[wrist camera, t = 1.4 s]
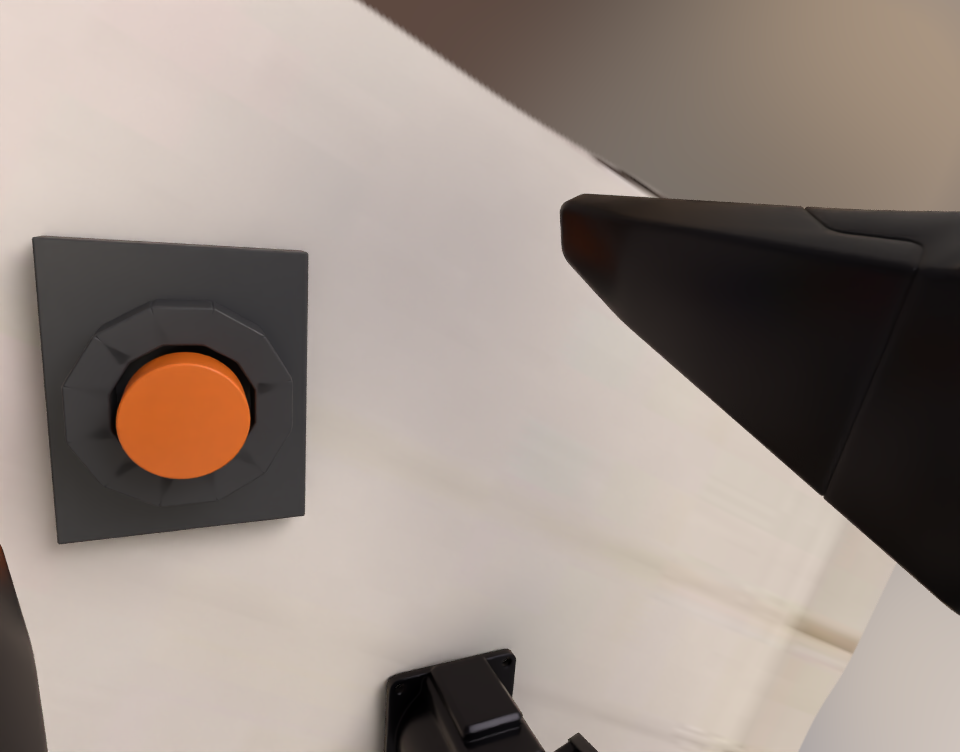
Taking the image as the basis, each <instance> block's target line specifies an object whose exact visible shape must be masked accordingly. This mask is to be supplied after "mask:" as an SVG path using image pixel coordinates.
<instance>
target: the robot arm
mask: <svg viewBox="0 0 960 752" xmlns="http://www.w3.org/2000/svg"><path fill="white" fill-rule="evenodd" d="M560 226H561V245H562V251H563V255H564V257H565V259H566V260H567V262H568V263H569V264H570V265H571V266H572V268H573V269H574V270H575V271H576V272H577V273H578V274H579V275H580V276H581V277H582V278H583V280H584V281H585V282H586V283H587V284H588V285H589V286H590V287H591V288H592V289H593V291H594V292H595V293H596V294H597V295H598V296H599V297H600V298H601V299H602V300H603V301H604V303H605V304H606V305H607V306H608V307H609V308H610V309H611V310H612V311H613V312H614V313H615V314H616V315H617V316H618V317H619V318H620V319H621V320H622V321H623V322H624V323H625V324H626V325H627V326H628V327H629V328H630V329H631V330H632V331H634V332H635V333H636V334H637V335H638V336H639V337H640V338H642V339H643V340H644V341H645V342H646V343H647V344H648V345H650V346H651V347H652V348H653V349H654V350H655V351H656V352H658V353H659V354H660V355H661V356H662V357H663V358H664V359H666V360H667V361H668V362H669V363H670V364H671V365H672V366H674V367H675V368H676V369H677V370H678V371H679V372H680V373H681V374H683V375H684V376H685V377H686V378H687V379H688V380H689V381H691V382H692V383H693V384H694V385H695V386H696V387H697V388H699V389H700V390H701V391H702V392H703V393H704V394H705V395H707V396H708V397H709V398H710V399H711V400H712V401H713V402H715V403H716V404H717V405H718V406H719V407H720V408H721V409H723V410H724V411H725V412H726V413H727V414H728V415H729V416H731V417H732V418H733V419H734V420H735V421H736V422H737V423H739V424H740V425H741V426H742V427H743V428H744V429H745V430H747V431H748V432H749V433H750V434H751V435H752V436H753V437H755V438H756V439H757V440H758V441H759V442H760V443H761V444H763V445H764V446H765V447H766V448H767V449H768V450H769V451H771V452H772V453H773V454H774V455H775V456H776V457H777V458H779V459H780V460H781V461H782V462H783V463H784V464H785V465H787V466H788V467H789V468H790V469H791V470H792V471H793V472H795V473H796V474H797V475H798V476H799V477H800V478H801V479H803V480H804V481H805V482H806V483H807V484H808V485H809V486H811V487H812V488H813V489H814V490H815V491H816V492H817V493H819V494H820V495H821V496H824V499H825V500H826V501H827V502H828V503H829V504H831V505H832V506H833V507H834V508H835V509H836V510H837V511H839V512H840V513H841V514H842V515H843V516H844V517H845V518H847V519H848V520H849V521H850V522H851V523H852V524H853V525H855V526H856V527H857V528H858V529H859V530H860V531H861V532H863V533H864V534H865V535H866V536H867V537H868V538H869V539H871V540H872V541H873V542H874V543H875V544H876V545H877V546H879V547H880V548H881V549H882V550H883V551H884V552H885V553H886V554H888V555H889V556H890V557H891V558H892V559H893V560H894V561H896V562H897V563H898V564H899V565H900V566H901V567H902V568H904V569H905V570H906V571H907V572H908V573H909V574H910V575H912V576H913V577H914V578H915V579H916V580H917V581H918V582H920V583H921V584H922V585H923V586H924V587H925V588H927V589H928V590H929V591H930V592H931V593H932V594H933V595H935V596H936V597H937V598H938V599H939V600H940V601H941V602H943V603H944V604H945V605H946V606H948V607H949V608H950V609H951V610H953V611H954V612H956V613H957V614H958V615H960V211H895V210H892V211H891V210H861V209H860V210H859V209H839V208H819V207H806V208H805V209H804V208H803V207H801V206H784V205H768V204H751V203H750V204H749V203H734V202H717V201H700V200H683V199H666V198H649V197H632V196H615V195H598V194H582V195H579V196H577V197H575V198H573V199H571V200H568V201H566V202H565V203H563V205H562V206H561V209H560ZM505 659H507V660H506V661H504V660H505ZM503 661H504V662H503ZM515 665H516V657H515V656H514V654H513V653H512V652H511V650H509V649H502V650H497V651H493V652H489V653H485V654H480V655H476V656H472V657H468V658H463V659H459V660H455V661H451V662H446V663H442V664H438V665H434V666H430V667H425V668H421V669H417V670H413V671H408V672H404V673H400V674H397V675H394V676H393V677H392V678H390V680H389V681H388V684H387V698H386V718H385V739H384V752H545V750H544V749H543V747H542V746H541V744H540V743H539V741H538V740H537V738H536V737H535V735H534V734H533V732H532V731H531V729H530V728H529V726H528V725H527V723H526V721H525V720H524V718H523V717H522V716H523V715H522V712H521V711H520V709H519V708H518V706H517V705H516V703H515V702H514V700H513V699H512V694H513V684H514V674H515ZM400 684H402V685H401V686H400V687H398V688H396V687H397V686H398V685H400ZM0 752H48V749H47V742H46V735H45V728H44V721H43V714H42V706H41V699H40V692H39V685H38V678H37V671H36V665H35V660H34V654H33V650H32V646H31V642H30V638H29V635H28V631H27V628H26V625H25V621H24V618H23V615H22V612H21V608H20V605H19V602H18V598H17V595H16V592H15V588H14V585H13V582H12V578H11V575H10V572H9V569H8V565H7V562H6V559H5V555H4V552H3V549H2V547H1V545H0ZM554 752H598V751H597V750H596V749H595V748H594V747H593V746H592V745H591V744H590V743H589V742H588V741H587V740H586V739H585V738H584V737H583V736H582V735H581V734H580V733H577V734H575V735H574V736H572V737H571V738H569V739H568V743H566V744H565V745H563V746H561V747H560V748H558V749H557V750H555V751H554Z"/></svg>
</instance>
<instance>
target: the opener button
mask: <svg viewBox="0 0 960 752" xmlns="http://www.w3.org/2000/svg"><path fill="white" fill-rule="evenodd" d="M249 428H250V410H249V406H248V402H247V399H246V396H245V392H244V390H243V387H242V385H241V383H240V381H239V379H238V378H237V376H236V375H235V374H234V373H233V372H232V371H231V370H230V369H229V368H228V367H227V366H226V365H224V364H223V363H222V362H220V361H218V360H217V359H214V358H212V357H210V356H207V355H203V354H200V353H194V352H176V353H171V354H166V355H163V356H160V357H158V358H155V359H153V360H151V361H150V362H148V363H146V364H145V365H143V366H142V367H141V368H140V369H139V370H138V371H137V372H136V373H135V374H134V375H133V376H132V377H131V379H130V380H129V382H128V384H127V386H126V387H125V390H124V393H123V395H122V398H121V401H120V404H119V407H118V410H117V415H116V431H117V436H118V439H119V442H120V444H121V446H122V448H123V450H124V451H125V453H126V454H127V455H128V456H129V457H130V459H131V460H132V461H133V462H135V463H136V464H137V465H138V466H140V467H141V468H143V469H144V470H146V471H148V472H150V473H152V474H155V475H158V476H161V477H166V478H171V479H190V478H197V477H201V476H205V475H207V474H210V473H212V472H214V471H216V470H218V469H220V468H222V467H223V466H225V465H226V464H227V463H229V462H230V461H231V460H232V459H233V458H234V457H235V456H236V455H237V454H238V452H239V451H240V450H241V448H242V447H243V445H244V443H245V441H246V438H247V436H248V433H249Z"/></svg>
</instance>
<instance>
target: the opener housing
mask: <svg viewBox="0 0 960 752" xmlns="http://www.w3.org/2000/svg"><path fill="white" fill-rule="evenodd" d="M32 244H33V256H34V268H35V280H36V292H37V304H38V316H39V327H40V339H41V351H42V363H43V375H44V387H45V399H46V411H47V423H48V434H49V446H50V458H51V470H52V482H53V494H54V506H55V518H56V530H57V542H58V544H66V543H74V542H83V541H92V540H100V539H109V538H117V537H126V536H134V535H143V534H151V533H160V532H169V531H177V530H186V529H194V528H203V527H211V526H220V525H228V524H237V523H246V522H254V521H263V520H271V519H280V518H288V517H297V516H304V514H305V463H306V388H307V313H308V253H307V252H304V251H300V250H282V249H265V248H247V247H230V246H213V245H195V244H178V243H160V242H143V241H125V240H108V239H91V238H73V237H56V236H38V237H33V238H32ZM176 352H194V353H200V354H203V355H207V356H210V357H212V358H214V359H217V360H218V361H220V362H222V363H223V364H224V365H226V366H227V367H228V368H229V369H230V370H231V371H232V372H233V373H234V374H235V375H236V376H237V378H238V379H239V381H240V383H241V385H242V387H243V390H244V392H245V396H246V399H247V402H248V406H249V410H250V428H249V433H248V436H247V438H246V441H245V443H244V445H243V447H242V448H241V450H240V451H239V452H238V454H237V455H236V456H235V457H234V458H233V459H232V460H231V461H230V462H229V463H227V464H226V465H225V466H223V467H222V468H220V469H218V470H216V471H214V472H212V473H210V474H207V475H205V476H201V477H197V478H190V479H171V478H166V477H161V476H158V475H155V474H152V473H150V472H148V471H146V470H144V469H143V468H141V467H140V466H138V465H137V464H136V463H135V462H133V461H132V460H131V459H130V457H129V456H128V455H127V454H126V453H125V451H124V450H123V448H122V446H121V444H120V442H119V439H118V436H117V431H116V415H117V410H118V407H119V404H120V401H121V398H122V395H123V393H124V390H125V387H126V386H127V384H128V382H129V380H130V379H131V377H132V376H133V375H134V374H135V373H136V372H137V371H138V370H139V369H140V368H141V367H142V366H143V365H145V364H146V363H148V362H150V361H151V360H153V359H155V358H158V357H160V356H163V355H166V354H171V353H176Z"/></svg>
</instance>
